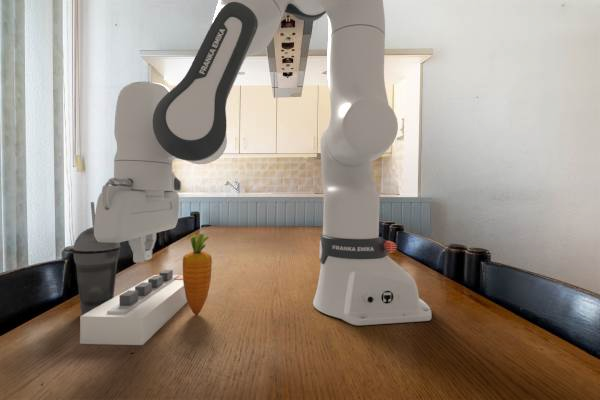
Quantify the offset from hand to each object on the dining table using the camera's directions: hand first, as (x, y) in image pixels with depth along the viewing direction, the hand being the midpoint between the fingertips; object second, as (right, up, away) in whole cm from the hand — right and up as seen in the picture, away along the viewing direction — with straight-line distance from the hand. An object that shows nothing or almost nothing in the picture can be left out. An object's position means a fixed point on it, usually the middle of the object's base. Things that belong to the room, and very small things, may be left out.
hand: (142, 260), depth 52 cm
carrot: (+8, -11, +3) cm, 14 cm away
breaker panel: (0, -10, +3) cm, 10 cm away
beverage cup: (-10, -10, +3) cm, 14 cm away
